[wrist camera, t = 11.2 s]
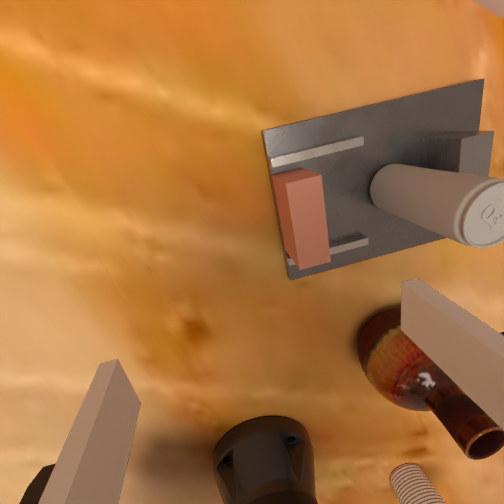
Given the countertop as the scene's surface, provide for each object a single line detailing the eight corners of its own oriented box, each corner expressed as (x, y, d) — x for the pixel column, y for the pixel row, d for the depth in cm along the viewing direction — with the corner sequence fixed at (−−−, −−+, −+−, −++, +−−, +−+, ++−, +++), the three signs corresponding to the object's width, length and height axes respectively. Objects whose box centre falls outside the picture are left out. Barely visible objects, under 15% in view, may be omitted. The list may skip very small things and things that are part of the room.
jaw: (285, 249, 31) (299, 270, 26) (271, 175, 27) (285, 183, 23) (311, 242, 31) (330, 261, 26) (301, 167, 28) (321, 174, 23)
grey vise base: (288, 276, 33) (305, 304, 28) (261, 131, 27) (276, 130, 21) (460, 229, 35) (509, 247, 29) (475, 80, 28) (540, 67, 23)
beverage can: (389, 216, 31) (489, 261, 20) (357, 194, 30) (447, 230, 19) (418, 177, 30) (541, 203, 19) (387, 153, 29) (501, 165, 18)
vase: (339, 365, 40) (412, 490, 26) (360, 297, 36) (461, 401, 22) (407, 364, 43) (508, 479, 29) (434, 300, 39) (568, 396, 25)
